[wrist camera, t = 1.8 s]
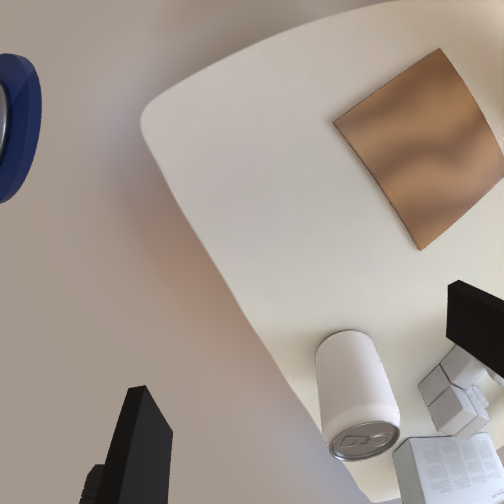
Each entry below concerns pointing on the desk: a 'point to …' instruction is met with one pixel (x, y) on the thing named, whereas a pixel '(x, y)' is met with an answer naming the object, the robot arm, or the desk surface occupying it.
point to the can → (355, 398)
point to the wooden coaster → (426, 146)
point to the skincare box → (449, 471)
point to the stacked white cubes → (457, 394)
